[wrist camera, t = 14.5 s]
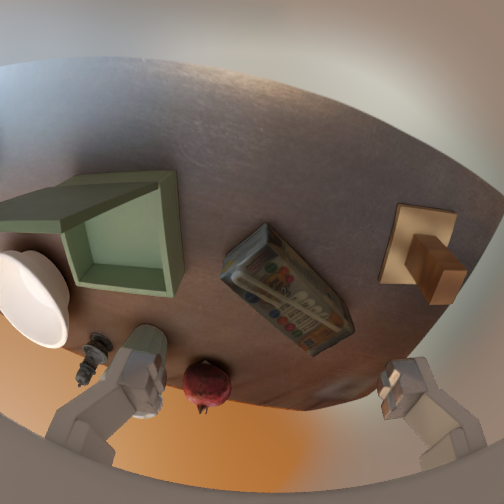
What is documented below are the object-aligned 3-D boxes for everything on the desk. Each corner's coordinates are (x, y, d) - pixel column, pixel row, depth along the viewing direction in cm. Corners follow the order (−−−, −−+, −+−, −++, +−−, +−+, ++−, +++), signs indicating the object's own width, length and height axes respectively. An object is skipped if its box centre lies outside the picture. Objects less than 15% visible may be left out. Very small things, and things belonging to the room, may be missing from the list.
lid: (61, 234, 13) (59, 219, 13) (-49, 231, 13) (-51, 222, 13) (158, 189, 28) (158, 181, 27) (48, 193, 28) (47, 187, 28)
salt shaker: (115, 355, 53) (95, 399, 42) (92, 347, 52) (70, 389, 42) (111, 337, 50) (87, 384, 39) (86, 329, 49) (61, 373, 39)
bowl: (1, 265, 43) (-21, 287, 36) (28, 207, 36) (-4, 229, 29) (63, 333, 51) (47, 359, 44) (106, 295, 44) (85, 328, 37)
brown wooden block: (413, 233, 34) (444, 270, 26) (435, 235, 34) (467, 271, 26) (404, 264, 37) (429, 305, 29) (425, 265, 36) (452, 304, 29)
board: (398, 203, 33) (401, 206, 32) (454, 211, 33) (457, 214, 32) (377, 279, 39) (379, 283, 38) (430, 280, 39) (433, 284, 38)
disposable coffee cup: (115, 323, 47) (82, 386, 34) (154, 306, 44) (122, 379, 31) (151, 359, 52) (128, 421, 39) (192, 347, 49) (174, 418, 36)
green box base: (185, 272, 40) (174, 297, 35) (93, 264, 41) (76, 286, 36) (176, 169, 33) (159, 184, 28) (74, 175, 33) (49, 189, 28)
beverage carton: (267, 217, 35) (267, 242, 30) (350, 305, 42) (359, 335, 36) (223, 254, 38) (215, 283, 33) (309, 330, 45) (313, 361, 39)
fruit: (203, 347, 48) (193, 393, 40) (243, 371, 51) (239, 415, 43) (177, 365, 52) (165, 407, 43) (214, 386, 55) (207, 427, 46)
